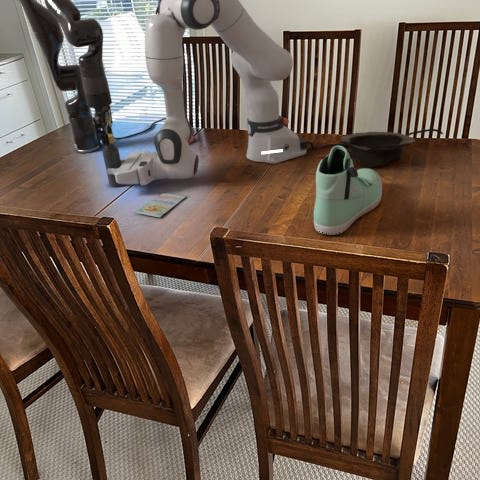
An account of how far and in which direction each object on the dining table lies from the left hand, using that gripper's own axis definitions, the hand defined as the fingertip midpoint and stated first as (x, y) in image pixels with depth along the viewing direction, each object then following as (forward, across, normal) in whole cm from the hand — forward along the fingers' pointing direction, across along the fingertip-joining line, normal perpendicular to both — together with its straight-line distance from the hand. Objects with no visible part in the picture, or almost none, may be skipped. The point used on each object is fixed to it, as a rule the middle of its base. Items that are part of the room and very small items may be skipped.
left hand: (108, 141), depth 158 cm
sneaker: (+15, +29, +73) cm, 80 cm away
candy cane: (+15, -34, +19) cm, 42 cm away
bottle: (+15, 0, 0) cm, 15 cm away
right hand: (+9, 0, -1) cm, 9 cm away
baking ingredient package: (+15, +19, +18) cm, 30 cm away
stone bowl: (+15, -6, +90) cm, 92 cm away
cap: (-2, 0, 0) cm, 2 cm away
